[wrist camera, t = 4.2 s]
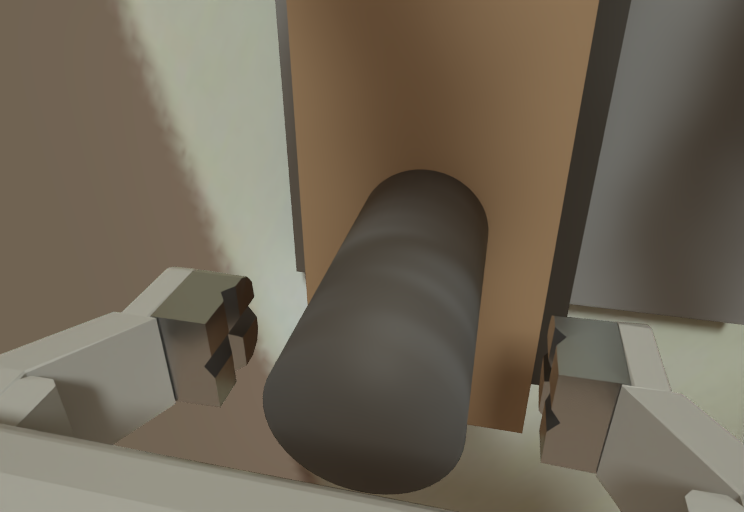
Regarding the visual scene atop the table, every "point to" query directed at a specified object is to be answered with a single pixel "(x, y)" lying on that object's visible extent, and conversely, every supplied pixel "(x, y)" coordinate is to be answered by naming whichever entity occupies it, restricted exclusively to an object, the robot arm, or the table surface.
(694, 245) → the frame
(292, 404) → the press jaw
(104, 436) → the robot arm
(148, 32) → the table surface
